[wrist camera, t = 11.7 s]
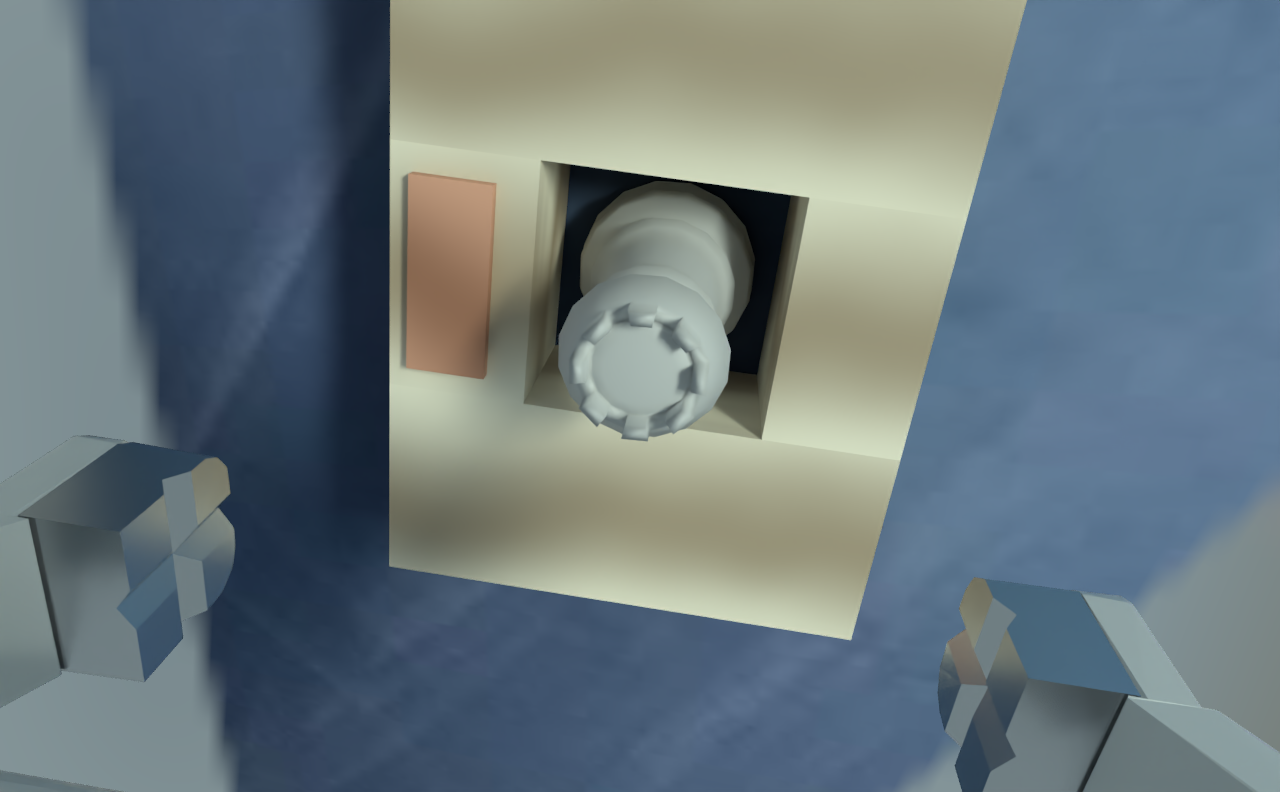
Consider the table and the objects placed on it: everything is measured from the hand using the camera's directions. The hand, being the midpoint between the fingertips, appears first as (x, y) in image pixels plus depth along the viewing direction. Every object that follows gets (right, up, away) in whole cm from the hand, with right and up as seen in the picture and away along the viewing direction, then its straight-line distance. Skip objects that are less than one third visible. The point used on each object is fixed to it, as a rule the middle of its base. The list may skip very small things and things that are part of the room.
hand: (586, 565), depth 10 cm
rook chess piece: (+1, +5, +13) cm, 15 cm away
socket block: (+1, +5, +13) cm, 14 cm away
